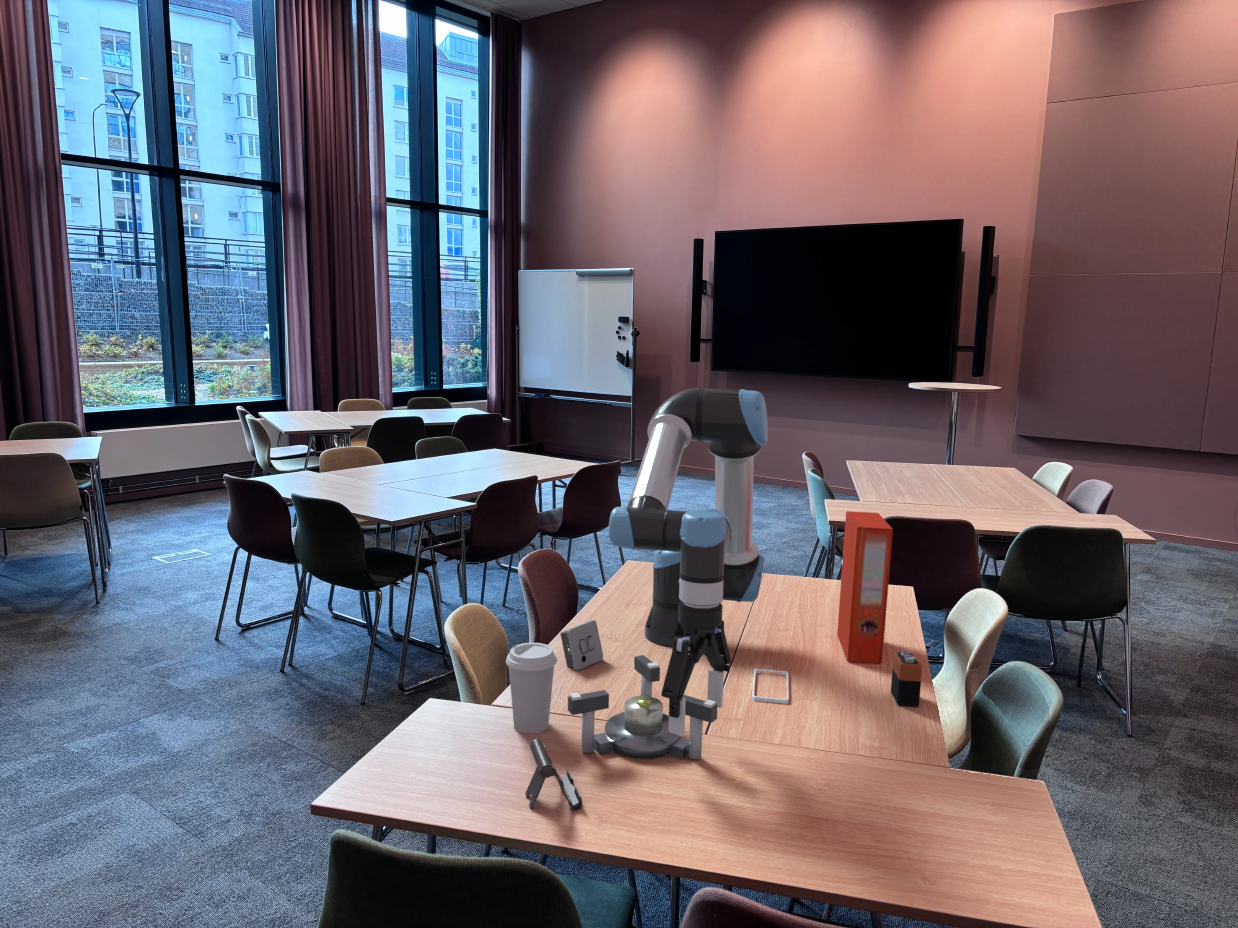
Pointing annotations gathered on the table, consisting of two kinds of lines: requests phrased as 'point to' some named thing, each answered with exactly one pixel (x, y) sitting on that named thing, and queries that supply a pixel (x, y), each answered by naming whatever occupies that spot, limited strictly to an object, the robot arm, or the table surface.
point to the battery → (906, 679)
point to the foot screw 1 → (588, 713)
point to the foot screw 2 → (646, 673)
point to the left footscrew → (698, 721)
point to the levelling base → (640, 743)
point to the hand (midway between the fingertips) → (696, 718)
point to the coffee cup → (531, 685)
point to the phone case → (773, 700)
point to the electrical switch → (582, 645)
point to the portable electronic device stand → (548, 770)
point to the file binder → (864, 587)
